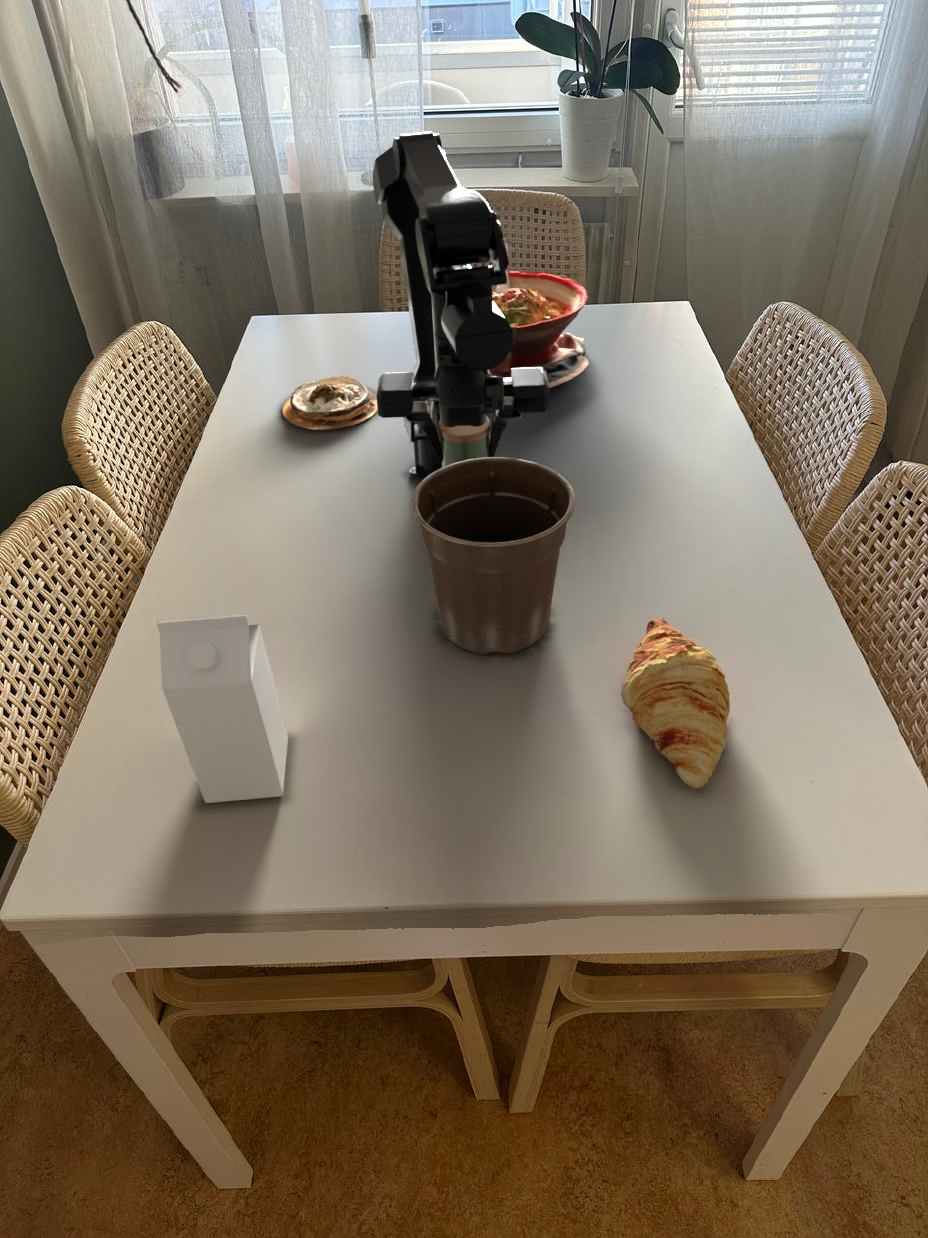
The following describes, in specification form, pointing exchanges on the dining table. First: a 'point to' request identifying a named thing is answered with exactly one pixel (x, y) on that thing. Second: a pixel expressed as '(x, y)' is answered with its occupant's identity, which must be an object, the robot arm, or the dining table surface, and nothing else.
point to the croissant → (679, 700)
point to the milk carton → (225, 706)
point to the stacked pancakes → (330, 404)
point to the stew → (541, 323)
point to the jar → (464, 442)
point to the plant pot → (493, 548)
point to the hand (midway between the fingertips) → (465, 459)
